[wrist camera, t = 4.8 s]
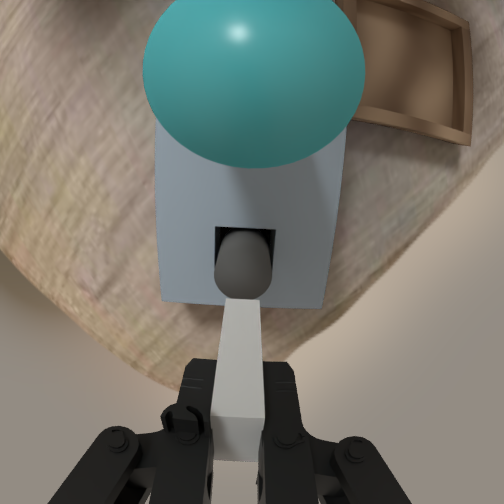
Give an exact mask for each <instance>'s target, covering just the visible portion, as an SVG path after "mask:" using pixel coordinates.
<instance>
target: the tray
mask: <svg viewBox="0 0 504 504" xmlns="http://www.w3.org/2000/svg"><path fill="white" fill-rule="evenodd" d="M335 4H336V5H337V6H338V7H339V8H340V9H341V10H342V11H343V13H344V14H345V15H346V16H347V18H348V19H349V21H350V22H351V24H352V25H353V27H354V29H355V31H356V33H357V35H358V37H359V40H360V43H361V46H362V49H363V54H364V59H365V83H364V89H363V93H362V97H361V100H360V103H359V105H358V107H357V110H356V112H355V114H354V115H353V117H352V119H351V120H355V121H361V122H366V123H372V124H377V125H382V126H387V127H391V128H396V129H400V130H405V131H409V132H413V133H417V134H421V135H425V136H429V137H432V138H436V139H439V140H443V141H446V142H450V143H453V144H458V145H465V146H471V134H472V118H473V65H472V49H471V38H470V29H469V22H468V21H466V20H464V19H462V18H460V17H458V16H456V15H454V14H452V13H450V12H448V11H446V10H444V9H441V8H439V7H437V6H435V5H433V4H430V3H428V2H425V1H423V0H335Z"/></svg>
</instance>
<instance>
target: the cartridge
mask: <svg viewBox="0 0 504 504" xmlns="http://www.w3.org/2000/svg"><path fill="white" fill-rule="evenodd" d="M143 81H144V88H145V92H146V95H147V99H148V102H149V104H150V106H151V108H152V111H153V113H154V114H155V116H156V118H157V119H158V121H159V122H160V124H161V125H162V126H163V127H164V129H165V130H166V131H167V132H168V133H169V134H170V135H171V136H172V137H173V138H174V139H175V140H176V141H177V142H179V143H180V144H181V145H183V146H184V147H185V148H187V149H188V150H190V151H191V152H193V153H195V154H197V155H199V156H201V157H203V158H205V159H208V160H210V161H213V162H216V163H219V164H223V165H227V166H232V167H239V168H248V169H249V168H270V167H278V166H282V165H286V164H290V163H294V162H296V161H299V160H301V159H304V158H306V157H308V156H310V155H312V154H314V153H316V152H318V151H319V150H321V149H322V148H324V147H325V146H326V145H328V144H329V143H331V142H332V141H333V140H334V139H335V138H336V137H337V136H338V135H339V134H340V133H341V132H342V131H343V129H344V128H345V127H346V126H347V125H348V123H349V122H350V120H351V119H352V117H353V115H354V114H355V112H356V110H357V107H358V105H359V103H360V100H361V97H362V93H363V89H364V83H365V59H364V54H363V49H362V46H361V43H360V40H359V37H358V35H357V33H356V31H355V29H354V27H353V25H352V24H351V22H350V21H349V19H348V18H347V16H346V15H345V14H344V13H343V11H342V10H341V9H340V8H339V7H338V6H337V5H336V4H335V3H334V2H333V1H332V0H176V1H175V2H173V3H172V4H171V5H170V6H169V7H168V9H167V10H166V11H165V12H164V13H163V14H162V16H161V17H160V19H159V20H158V22H157V23H156V25H155V26H154V28H153V30H152V32H151V34H150V37H149V39H148V42H147V45H146V49H145V53H144V59H143Z"/></svg>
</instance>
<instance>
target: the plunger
mask: <svg viewBox="0 0 504 504" xmlns="http://www.w3.org/2000/svg"><path fill="white" fill-rule="evenodd" d="M214 279H215V283H216V285H217V287H218V289H219V290H220V291H221V292H222V293H223V294H224V295H226V296H227V297H229V298H231V299H248V300H253V299H256V298H258V297H260V296H261V295H262V294H264V293H265V292H266V291H267V289H268V288H269V286H270V284H271V281H272V269H271V262H270V256H269V249H268V243H267V240H266V238H265V236H264V235H263V233H262V232H261V231H259V230H258V229H256V228H240V227H234V228H232V229H231V230H229V231H228V232H227V233H226V234H225V236H224V237H223V239H222V242H221V246H220V250H219V254H218V258H217V262H216V266H215V270H214Z"/></svg>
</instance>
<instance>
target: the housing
mask: <svg viewBox="0 0 504 504" xmlns="http://www.w3.org/2000/svg"><path fill="white" fill-rule="evenodd" d="M346 129H347V126H346V127H345V128H344V129H343V131H342V132H341V133H340V134H339V135H338V136H337V137H336V138H335V139H334V140H333V141H332V142H331V143H329V144H328V145H326V146H325V147H324V148H322V149H321V150H319V151H318V152H316V153H314V154H312V155H310V156H308V157H306V158H304V159H301V160H299V161H296V162H294V163H290V164H286V165H282V166H278V167H270V168H249V169H248V168H239V167H232V166H227V165H223V164H219V163H216V162H213V161H210V160H208V159H205V158H203V157H201V156H199V155H197V154H195V153H193V152H191V151H190V150H188V149H187V148H185V147H184V146H183V145H181V144H180V143H179V142H177V141H176V140H175V139H174V138H173V137H172V136H171V135H170V134H169V133H168V132H167V131H166V130H165V129H164V127H163V126H162V125H161V124H160V122H159V121H158V119H157V118H156V131H155V203H156V229H157V247H158V262H159V275H160V286H161V297H162V301H166V302H179V303H192V304H207V305H223V306H225V302H226V298H228V299H231V298H229V297H227V296H226V295H224V294H223V293H222V292H221V291H220V290H219V289H218V287H217V285H216V283H215V279H214V270H215V266H216V262H217V258H218V254H219V250H220V227H240V228H260V229H271V233H270V246H269V256H270V262H271V269H272V281H271V284H270V286H269V288H268V289H267V291H266V292H265V293H264V294H262V295H261V296H260V297H258V298H256V299H253V300H260V307H265V308H297V309H322V305H323V300H324V294H325V289H326V283H327V278H328V272H329V266H330V260H331V254H332V248H333V241H334V235H335V228H336V221H337V214H338V206H339V198H340V190H341V181H342V172H343V163H344V152H345V141H346Z"/></svg>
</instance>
